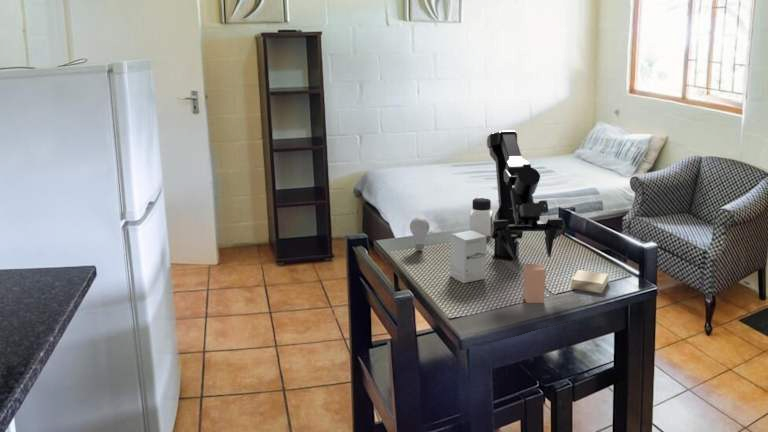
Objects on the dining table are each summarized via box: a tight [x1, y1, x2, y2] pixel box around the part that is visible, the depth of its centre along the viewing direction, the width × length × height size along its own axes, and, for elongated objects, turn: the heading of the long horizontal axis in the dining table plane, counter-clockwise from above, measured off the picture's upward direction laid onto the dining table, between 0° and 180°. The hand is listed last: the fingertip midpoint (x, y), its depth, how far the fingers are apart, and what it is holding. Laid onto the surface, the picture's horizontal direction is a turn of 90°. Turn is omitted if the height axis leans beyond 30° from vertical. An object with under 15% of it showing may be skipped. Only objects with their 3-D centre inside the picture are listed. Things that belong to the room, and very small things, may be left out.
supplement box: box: [449, 230, 487, 284], centre depth 197 cm, size 7×7×13 cm
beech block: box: [571, 269, 609, 294], centre depth 191 cm, size 8×8×3 cm
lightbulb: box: [409, 216, 430, 252], centre depth 220 cm, size 6×6×11 cm
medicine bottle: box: [469, 197, 493, 237], centre depth 238 cm, size 7×7×12 cm
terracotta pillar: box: [522, 263, 547, 304], centre depth 181 cm, size 4×4×9 cm
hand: (532, 257), depth 182 cm, fingers open, 9 cm apart
